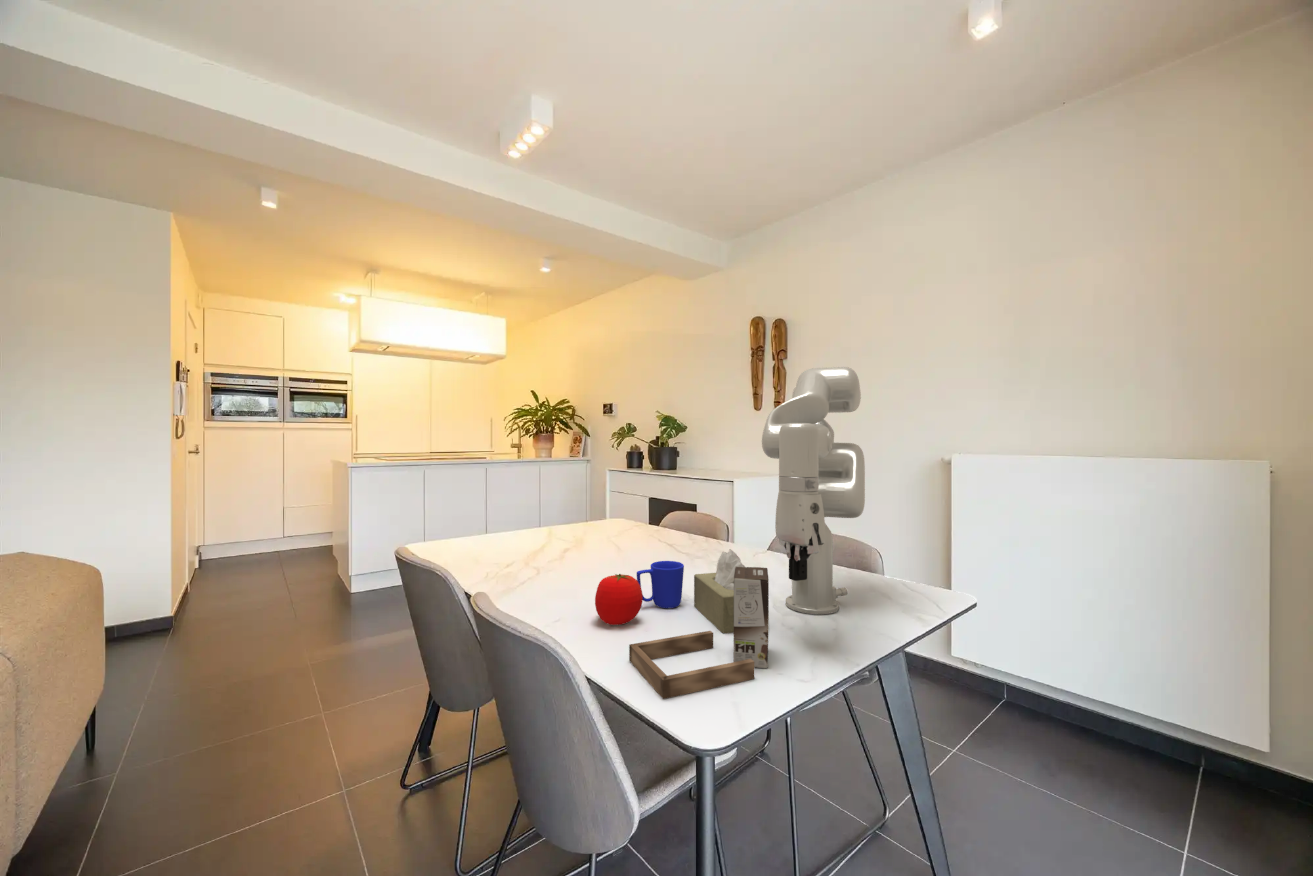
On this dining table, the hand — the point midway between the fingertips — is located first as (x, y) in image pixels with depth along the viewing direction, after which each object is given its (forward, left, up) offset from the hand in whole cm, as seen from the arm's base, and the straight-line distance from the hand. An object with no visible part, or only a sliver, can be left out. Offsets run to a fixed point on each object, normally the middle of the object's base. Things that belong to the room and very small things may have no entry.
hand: (797, 579), depth 103 cm
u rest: (+24, 0, -14) cm, 27 cm away
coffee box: (+11, 0, -14) cm, 17 cm away
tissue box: (+3, -21, -14) cm, 25 cm away
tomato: (+28, -28, -14) cm, 42 cm away
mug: (+15, -34, -14) cm, 39 cm away
